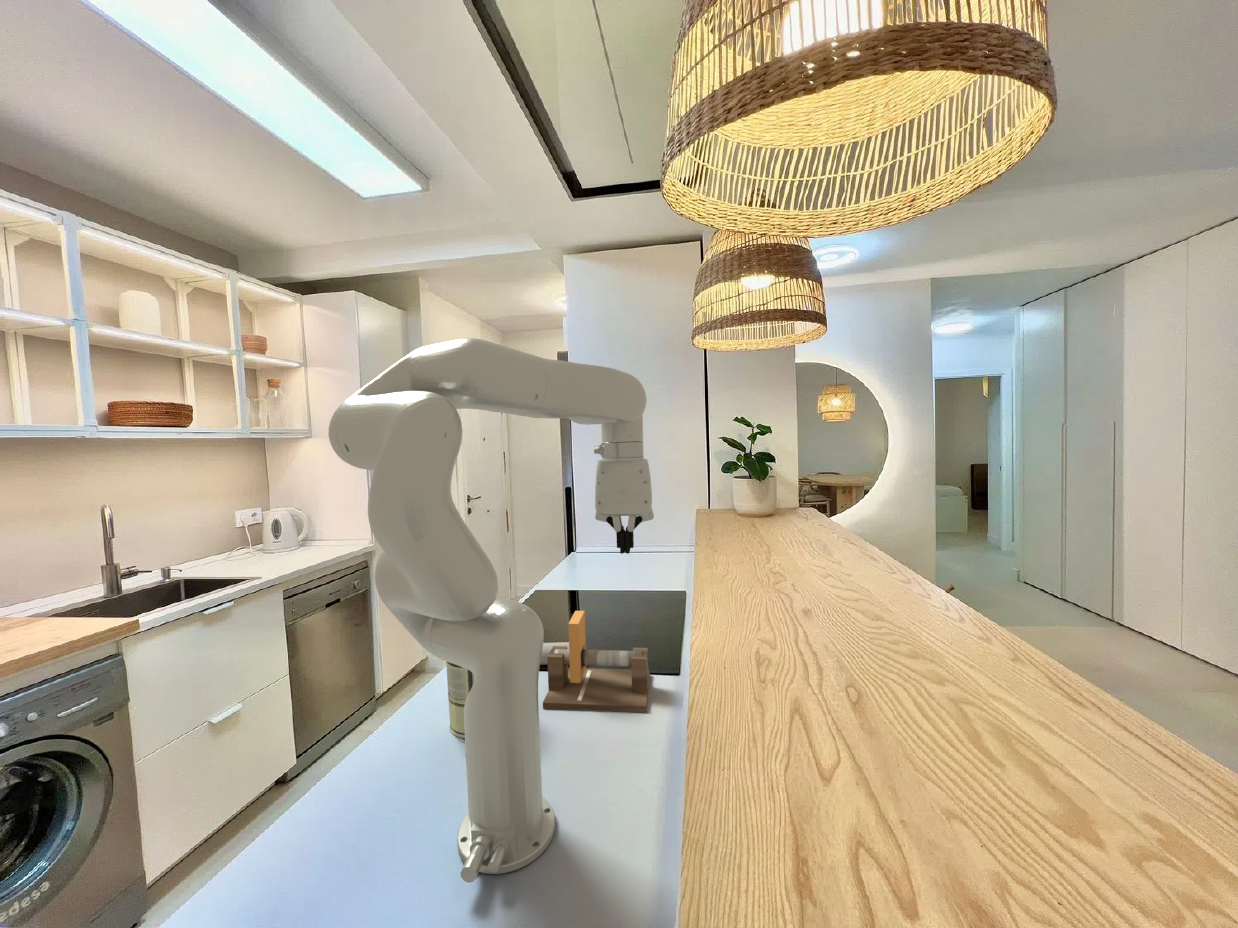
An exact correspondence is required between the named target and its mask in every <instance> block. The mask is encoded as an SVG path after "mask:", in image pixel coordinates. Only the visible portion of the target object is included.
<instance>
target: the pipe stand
mask: <svg viewBox="0 0 1238 928" xmlns="http://www.w3.org/2000/svg"><path fill="white" fill-rule="evenodd" d="M648 653H649V651H648V647H632V650H610V649H609V650H606V649H605V650H604V649H602V650H601V649H587V648H586V649H582V651H581V666H586V668H585V671H584V674H583V677H582V679H581V682H580V683H570V667H569V666H570V658H569V649H567V646H553V647H552V649H551V651H550V653H549V655H548V656H547V661H548V665H547V679H548V680H547V682H548V687H547V688H548V691H547V693H546V695H545V696H544V699H543V701H542V709H546V710H570V711H571V710H573V711H574V710H575V711H596V712H598V711H599V712H625V713H626V712H627V713H628V712H629V713H630V712H631V713H647V708H648V707H647V706H648V695H649V686H650V685H649V683H650V669H649V654H648ZM587 666H590V667H594V666H595V667H596V666H597V667H622V668H621V669H620V668H588V667H587ZM623 667H625V668H626V667H627V669H625V668H624V669H623ZM629 667H630V668H631V669H629Z"/></svg>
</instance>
